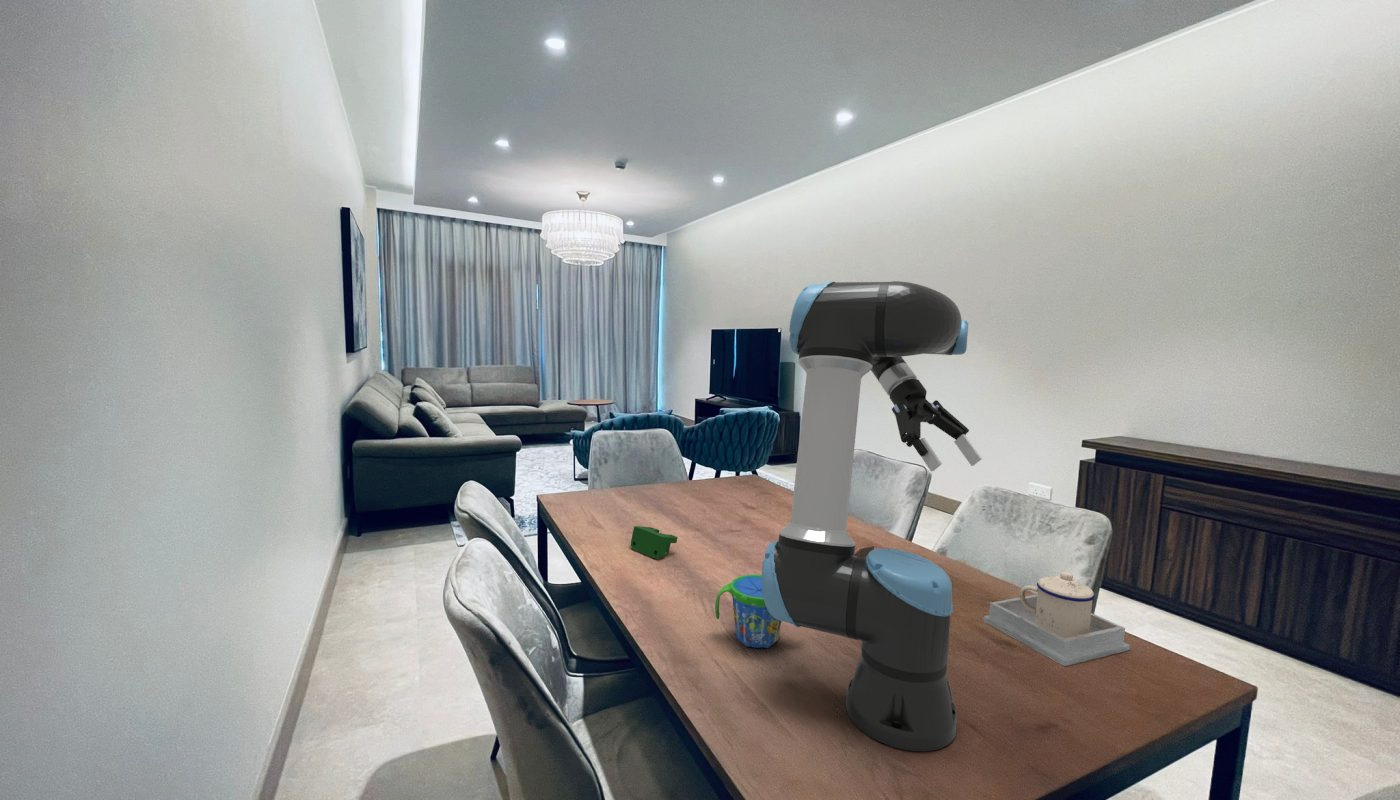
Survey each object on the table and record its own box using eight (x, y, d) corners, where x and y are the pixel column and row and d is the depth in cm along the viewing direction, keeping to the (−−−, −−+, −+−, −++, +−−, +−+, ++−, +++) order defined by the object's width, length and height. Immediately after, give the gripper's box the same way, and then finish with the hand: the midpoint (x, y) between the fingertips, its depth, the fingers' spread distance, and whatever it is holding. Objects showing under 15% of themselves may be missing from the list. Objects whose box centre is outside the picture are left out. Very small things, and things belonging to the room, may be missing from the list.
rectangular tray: (1064, 666, 97) (1066, 644, 97) (982, 620, 113) (984, 601, 113) (1129, 650, 104) (1131, 629, 103) (1043, 609, 119) (1045, 590, 119)
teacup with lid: (1095, 634, 107) (1101, 574, 106) (1082, 651, 101) (1089, 587, 100) (1025, 611, 116) (1030, 556, 115) (1009, 625, 109) (1014, 566, 108)
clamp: (667, 571, 144) (683, 542, 142) (649, 571, 140) (666, 541, 138) (643, 541, 152) (658, 513, 151) (626, 540, 148) (641, 512, 146)
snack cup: (801, 631, 107) (804, 579, 106) (798, 661, 96) (801, 603, 96) (720, 620, 110) (722, 569, 109) (708, 647, 100) (710, 592, 99)
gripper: (927, 397, 139) (980, 469, 128) (855, 399, 126) (906, 480, 115) (948, 376, 134) (1005, 450, 123) (875, 377, 121) (930, 459, 110)
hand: (957, 465), depth 119 cm, fingers open, 13 cm apart
